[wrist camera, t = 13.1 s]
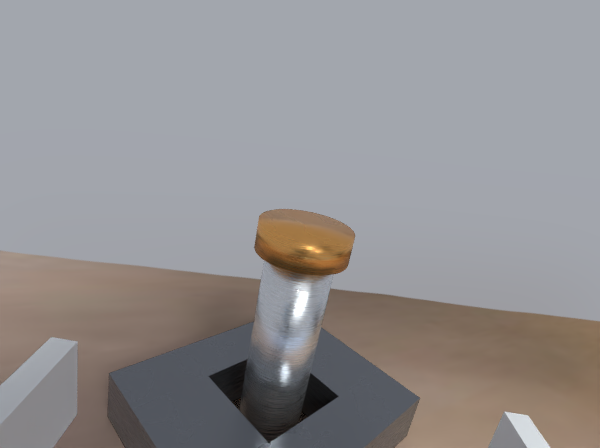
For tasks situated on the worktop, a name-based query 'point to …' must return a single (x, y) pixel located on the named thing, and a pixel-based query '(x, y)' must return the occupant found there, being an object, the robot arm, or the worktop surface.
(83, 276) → the worktop surface
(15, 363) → the worktop surface
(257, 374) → the steel pin
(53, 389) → the robot arm
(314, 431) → the plate
